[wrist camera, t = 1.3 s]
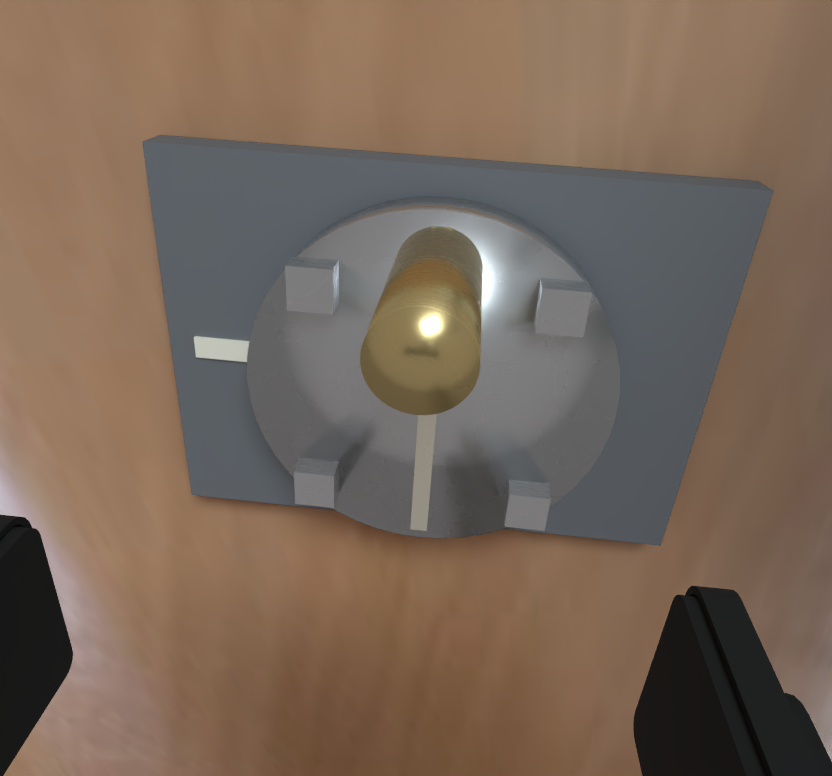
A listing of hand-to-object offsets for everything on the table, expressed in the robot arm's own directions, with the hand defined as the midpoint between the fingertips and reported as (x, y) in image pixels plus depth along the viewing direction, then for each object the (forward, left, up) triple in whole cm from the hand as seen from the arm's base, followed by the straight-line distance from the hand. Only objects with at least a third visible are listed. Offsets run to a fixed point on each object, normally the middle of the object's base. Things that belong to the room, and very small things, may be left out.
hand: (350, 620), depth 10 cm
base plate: (0, +5, -19) cm, 19 cm away
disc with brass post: (0, +5, -17) cm, 17 cm away
